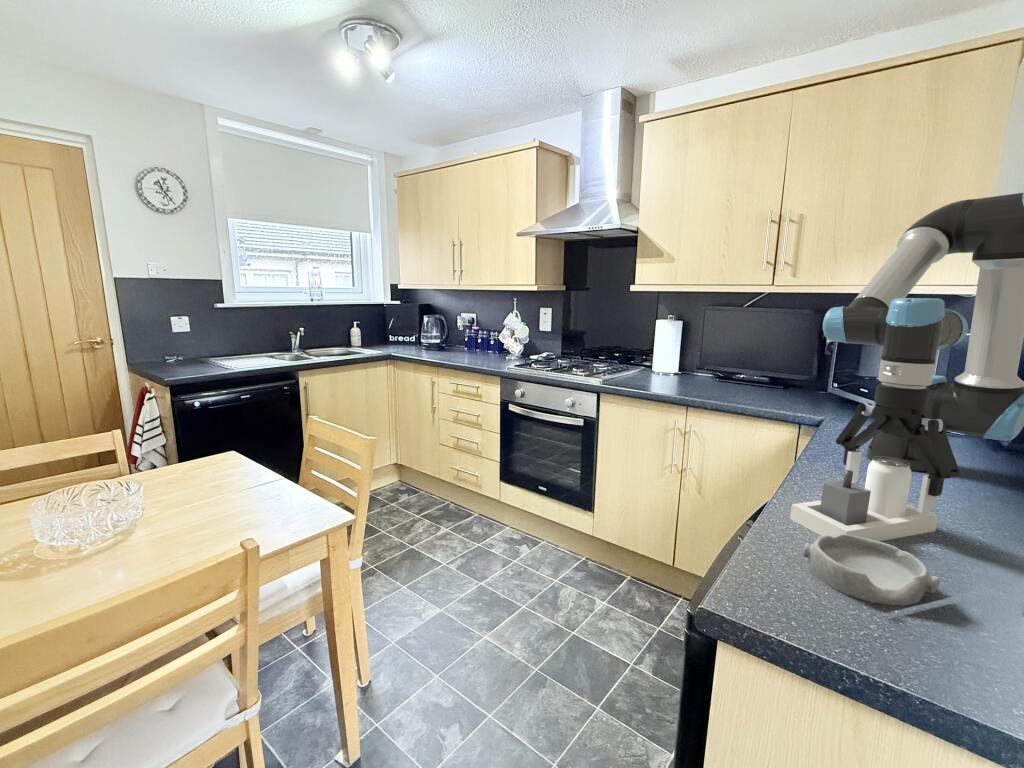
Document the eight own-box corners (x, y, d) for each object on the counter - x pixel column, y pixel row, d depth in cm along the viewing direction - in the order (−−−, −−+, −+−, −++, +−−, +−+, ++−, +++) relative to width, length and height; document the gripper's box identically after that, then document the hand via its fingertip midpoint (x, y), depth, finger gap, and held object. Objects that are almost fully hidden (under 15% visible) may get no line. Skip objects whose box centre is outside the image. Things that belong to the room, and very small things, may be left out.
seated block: (838, 520, 91) (846, 465, 89) (864, 532, 86) (873, 474, 84) (818, 523, 89) (825, 467, 87) (843, 536, 84) (852, 477, 82)
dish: (948, 606, 67) (954, 574, 66) (866, 619, 64) (872, 586, 63) (854, 553, 80) (859, 525, 80) (784, 561, 78) (788, 533, 77)
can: (890, 515, 93) (900, 456, 91) (910, 531, 87) (921, 468, 84) (853, 512, 94) (862, 454, 92) (870, 527, 88) (880, 465, 86)
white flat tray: (874, 508, 97) (877, 492, 97) (935, 533, 87) (938, 515, 86) (789, 521, 91) (791, 504, 91) (843, 550, 81) (846, 531, 80)
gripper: (824, 374, 96) (811, 474, 100) (971, 400, 73) (947, 529, 77) (852, 373, 98) (838, 470, 102) (1004, 398, 75) (978, 523, 79)
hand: (884, 496), depth 89 cm, fingers open, 13 cm apart
